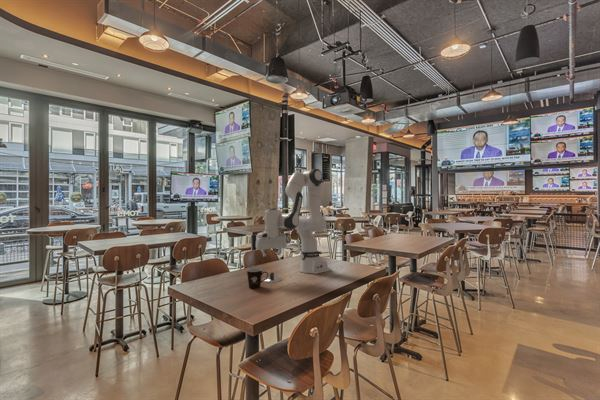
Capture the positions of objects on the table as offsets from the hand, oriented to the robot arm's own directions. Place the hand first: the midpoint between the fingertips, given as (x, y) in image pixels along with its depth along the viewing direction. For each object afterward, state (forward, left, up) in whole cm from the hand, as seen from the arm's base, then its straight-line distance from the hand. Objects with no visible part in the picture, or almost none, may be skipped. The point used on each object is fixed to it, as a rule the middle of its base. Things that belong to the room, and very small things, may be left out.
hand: (271, 255), depth 189 cm
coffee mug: (+14, +10, -16) cm, 23 cm away
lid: (0, 0, -16) cm, 16 cm away
